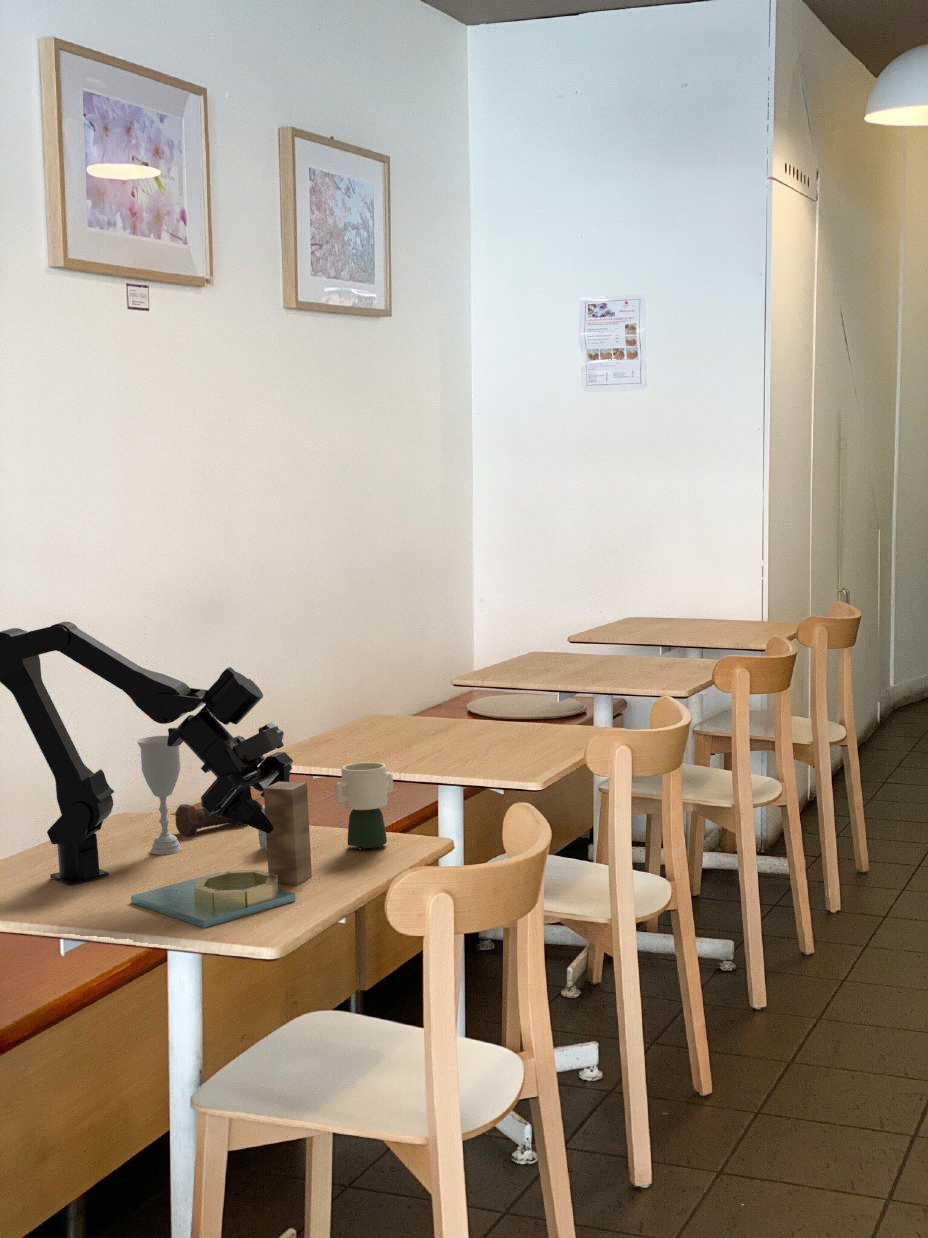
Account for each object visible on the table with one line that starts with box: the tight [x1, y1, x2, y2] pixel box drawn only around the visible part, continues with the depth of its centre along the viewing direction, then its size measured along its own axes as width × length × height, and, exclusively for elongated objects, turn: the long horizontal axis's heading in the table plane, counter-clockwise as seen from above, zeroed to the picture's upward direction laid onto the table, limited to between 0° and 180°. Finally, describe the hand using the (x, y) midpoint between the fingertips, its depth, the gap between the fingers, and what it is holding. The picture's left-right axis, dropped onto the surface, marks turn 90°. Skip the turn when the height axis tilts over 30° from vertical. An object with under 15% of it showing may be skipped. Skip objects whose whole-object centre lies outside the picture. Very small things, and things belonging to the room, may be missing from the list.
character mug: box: [334, 761, 394, 850], centre depth 219 cm, size 11×7×13 cm, turn 130°
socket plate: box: [130, 869, 297, 929], centre depth 193 cm, size 18×15×3 cm
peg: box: [263, 781, 313, 886], centre depth 202 cm, size 5×5×14 cm
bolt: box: [175, 799, 263, 838], centre depth 237 cm, size 6×5×15 cm
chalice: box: [136, 735, 183, 856], centre depth 222 cm, size 7×7×18 cm
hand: (286, 823), depth 202 cm, fingers open, 9 cm apart
